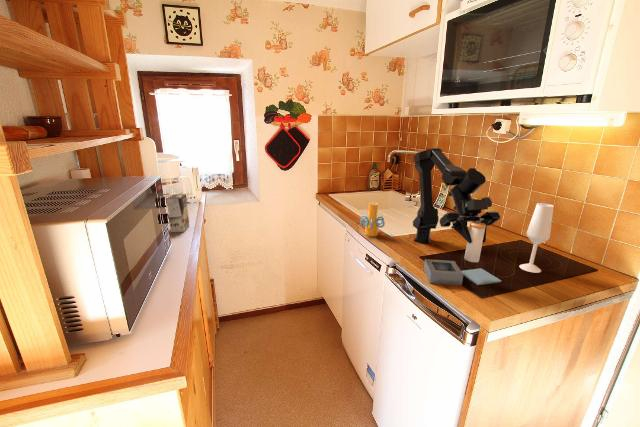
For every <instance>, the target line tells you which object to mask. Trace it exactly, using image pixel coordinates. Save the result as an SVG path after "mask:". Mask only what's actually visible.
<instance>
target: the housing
mask: <svg viewBox="0 0 640 427" xmlns="http://www.w3.org/2000/svg"><path fill="white" fill-rule="evenodd" d="M423 270H424V274H425V275H426V278H427V281H428V283H429V284H435V285H445V286H446V285H447V286H459V287H462V285H463V279H464V275H463V273H462V272H461V271H462V270H461V269H460V267H459V265H457V262H456V261H455V260H443V259H430V258H429V259H428V258H427V259H426V258H425V259H424V265H423Z"/></svg>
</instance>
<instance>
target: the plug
mask: <svg viewBox="0 0 640 427" xmlns="http://www.w3.org/2000/svg"><path fill="white" fill-rule="evenodd" d="M485 228H486V224H484V223H481V222H469V228H468V230H469V233H470V236H471V240H472V243H468V242H467V241H466V246H465V247H466V248H465V253H464V260H465V261H467V262H471V263H479V262H480V257H481V252H482V248H483V247H482V246H483V237H484V231H485Z"/></svg>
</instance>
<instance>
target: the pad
mask: <svg viewBox="0 0 640 427" xmlns="http://www.w3.org/2000/svg"><path fill="white" fill-rule="evenodd" d="M461 272H462V273H463V277H465V278H467V279H468V280H469V281H471V282H473V283H474V284H476V285H477V286H482V285H483V286H484V285H491V284H498V283H502V280H501V279H499V278H498V277H496V276H495V275H493V274H491V273H489V272H488V271H486V270H485V269H483V268H473V269H465V270H464V269H463V270H461Z"/></svg>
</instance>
